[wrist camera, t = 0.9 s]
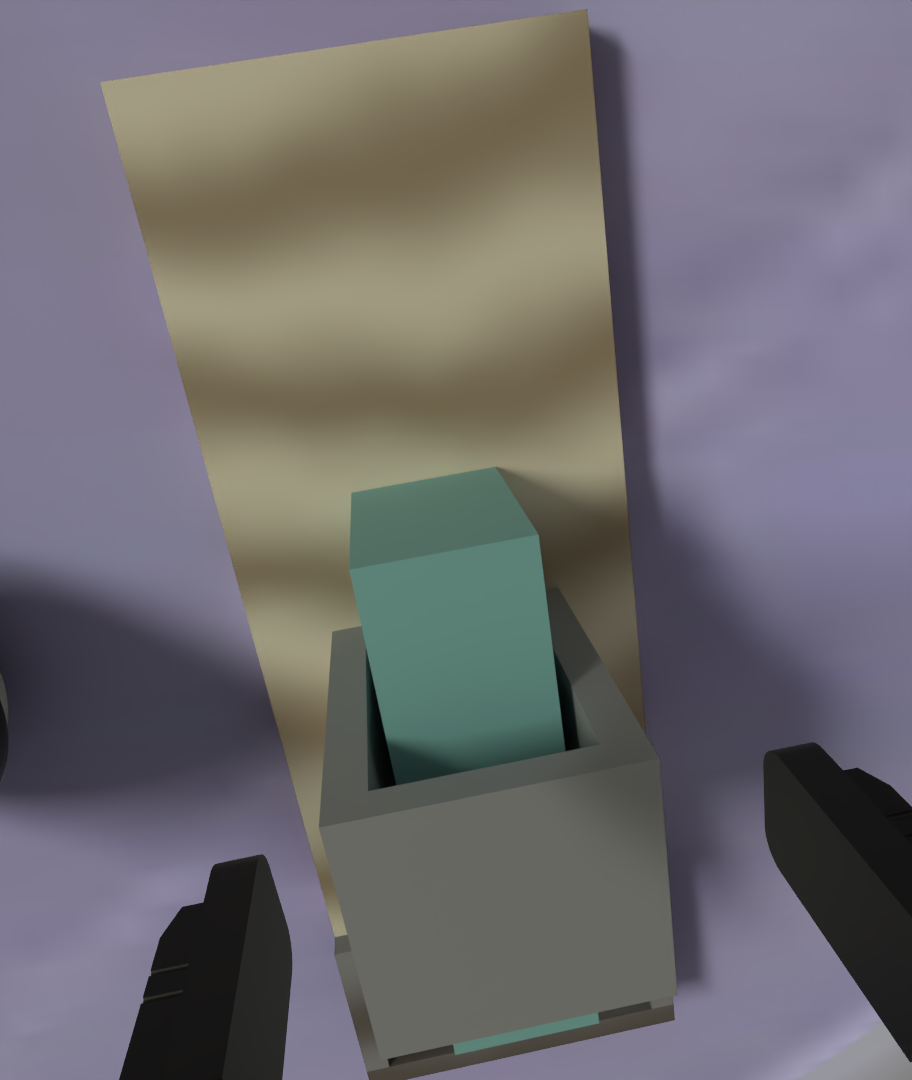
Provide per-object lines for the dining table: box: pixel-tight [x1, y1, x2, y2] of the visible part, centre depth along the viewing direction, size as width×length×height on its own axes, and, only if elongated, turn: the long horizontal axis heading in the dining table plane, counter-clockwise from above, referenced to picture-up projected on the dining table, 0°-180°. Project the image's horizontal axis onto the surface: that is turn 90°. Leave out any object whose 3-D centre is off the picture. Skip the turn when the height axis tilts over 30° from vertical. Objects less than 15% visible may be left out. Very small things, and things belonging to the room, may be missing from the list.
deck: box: [100, 9, 675, 1080], centre depth 30 cm, size 40×14×2 cm, turn 9°
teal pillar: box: [349, 467, 599, 1055], centre depth 27 cm, size 18×5×7 cm, turn 9°
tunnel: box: [319, 588, 677, 1060], centre depth 26 cm, size 8×8×10 cm
